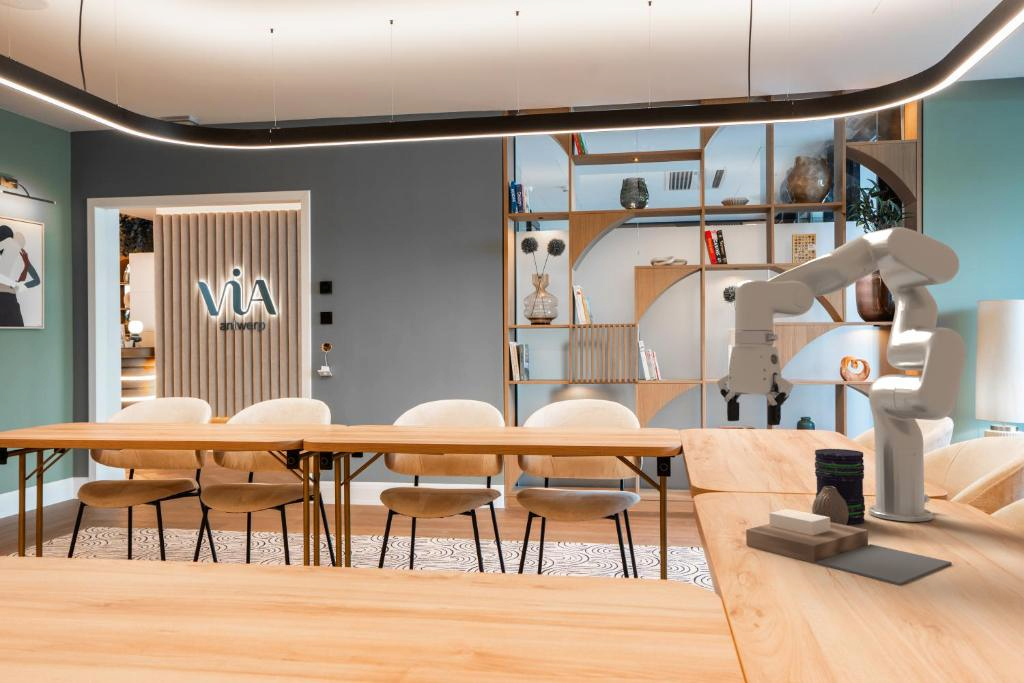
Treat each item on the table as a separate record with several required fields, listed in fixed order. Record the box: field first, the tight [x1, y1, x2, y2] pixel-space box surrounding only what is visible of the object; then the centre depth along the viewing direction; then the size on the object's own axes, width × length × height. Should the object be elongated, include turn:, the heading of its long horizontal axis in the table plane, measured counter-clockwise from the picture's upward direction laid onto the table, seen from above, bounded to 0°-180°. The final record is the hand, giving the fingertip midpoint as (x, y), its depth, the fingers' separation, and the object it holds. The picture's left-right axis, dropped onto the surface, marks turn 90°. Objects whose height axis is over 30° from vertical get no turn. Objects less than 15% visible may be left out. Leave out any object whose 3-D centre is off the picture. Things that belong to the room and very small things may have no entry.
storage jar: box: [814, 448, 866, 527], centre depth 151 cm, size 10×10×15 cm
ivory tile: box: [768, 508, 830, 535], centre depth 133 cm, size 6×9×2 cm, turn 35°
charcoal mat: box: [816, 543, 952, 586], centre depth 119 cm, size 18×14×1 cm
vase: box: [811, 486, 849, 526], centre depth 143 cm, size 7×7×9 cm
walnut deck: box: [745, 522, 869, 564], centre depth 131 cm, size 18×14×3 cm
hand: (753, 422), depth 142 cm, fingers open, 9 cm apart
